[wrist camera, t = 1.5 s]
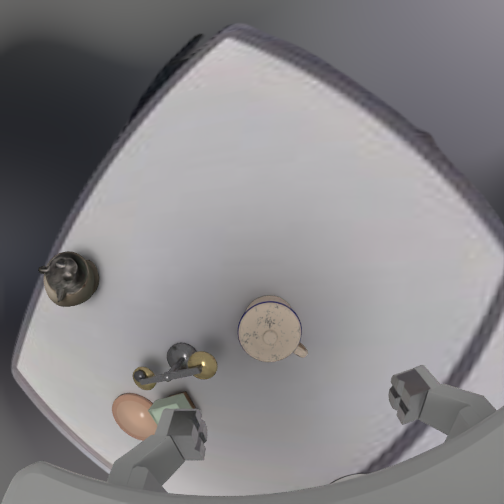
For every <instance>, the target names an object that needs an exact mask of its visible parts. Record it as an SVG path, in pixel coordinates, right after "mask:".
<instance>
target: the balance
mask: <svg viewBox="0 0 504 504" xmlns="http://www.w3.org/2000/svg"><path fill="white" fill-rule="evenodd" d="M167 361H168V363H169V365H170V367H171V369H170V370H169V371H168V372H165V373H164V374H160V375H156V376H155V374H154V373H153V372H152V371H151V370H150V369H148V368H146V367H138V368H137V369H136V370H135V371H134V372H133V379H134V382H135V383H136V385H137V386H138V387H140V388H141V389H144V390H151V389H152V388H154V386H155V385H156V383H157V382H162V381H167V382H169V381H171V380H172V379H177V378H182V377H186V376H191V375H193V376H195V377H197V378H199V379H209V378H211V377H213V376H214V375H215V373H216V371H217V362H216V360H215V358H214V357H213V356H212V355H211V354H209V353H207V352H204V351H199V352H197V351H196V350H195V349H194V348H193V347H192V346H190V345H189V344H186V343H177V344H175V345H173V346H172V347H171V348H170V349H169V351H168V353H167Z"/></svg>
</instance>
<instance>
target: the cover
mask: <svg viewBox="0 0 504 504" xmlns="http://www.w3.org/2000/svg"><path fill="white" fill-rule="evenodd" d="M165 408H168V409H192V407H191V406H190V404H189V402H188V401H187V399H186V397H185V395H184V394H183V393H181V394H178V395H174V396H171V397H167V398H163V399H159V400H156V401H155V402H154V403H153V404H152V406H151V407H150V408H149V409H148V412H149V413H150V415H151V416H152V418H153V420H154V421H155V423H156V424H157V426H158V423H159V420H160V417H161V414H162V411H163V410H164V409H165Z"/></svg>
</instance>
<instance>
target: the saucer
mask: <svg viewBox="0 0 504 504" xmlns="http://www.w3.org/2000/svg"><path fill="white" fill-rule="evenodd" d="M152 404H153V403H152V402H151V401H149V400H148V399H146V398H144V397H142V396H140V395H137V394H133V393H126V394H122V395H121V396H119V397H118V398H117V399H116V400H115V401H114V403H113V406H112V412H113V416H114V419H115V421H116V422H117V424H118V425H119V426H120V428H121V429H122V430H123V431H124V432H126V433H127V434H128V435H130V436H132V437H134V438H136V439H139V440H143V441H144V440H145V439H146V438H148V437H149V436H150V435H155V432H156V429H157V424H156V423H155V421H154V420H153V418H152V416H151V415H150V413H149V412H148V409H149V408H150V407H151V406H152Z"/></svg>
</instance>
